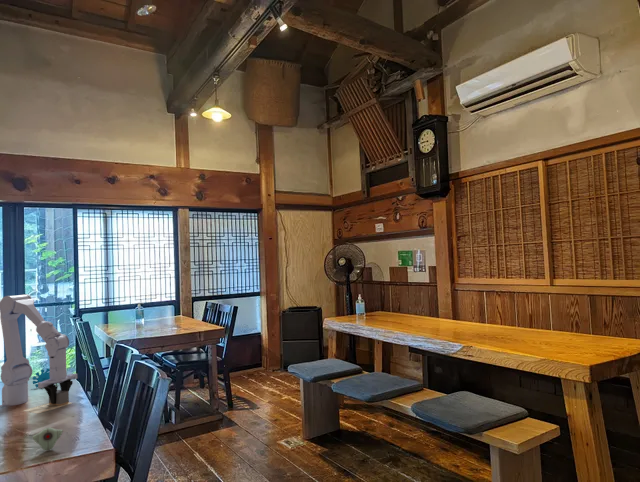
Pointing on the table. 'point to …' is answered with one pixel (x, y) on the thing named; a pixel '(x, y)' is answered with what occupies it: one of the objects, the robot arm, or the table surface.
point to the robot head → (47, 438)
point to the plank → (44, 408)
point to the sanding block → (61, 397)
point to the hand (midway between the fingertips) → (58, 401)
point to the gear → (41, 377)
